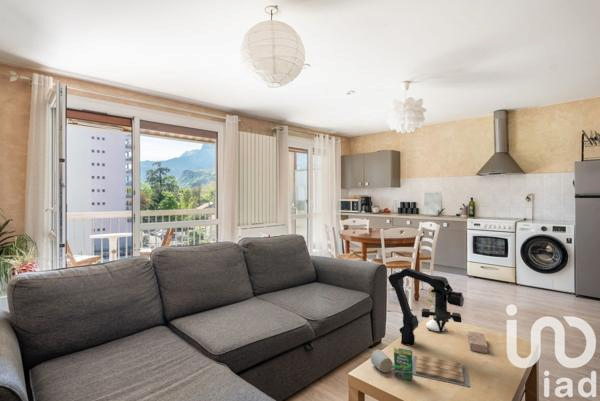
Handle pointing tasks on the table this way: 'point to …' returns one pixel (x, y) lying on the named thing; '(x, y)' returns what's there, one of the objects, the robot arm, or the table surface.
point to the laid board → (440, 373)
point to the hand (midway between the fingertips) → (440, 331)
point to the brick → (477, 342)
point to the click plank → (439, 363)
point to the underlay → (442, 379)
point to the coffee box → (403, 363)
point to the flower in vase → (432, 323)
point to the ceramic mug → (381, 361)
